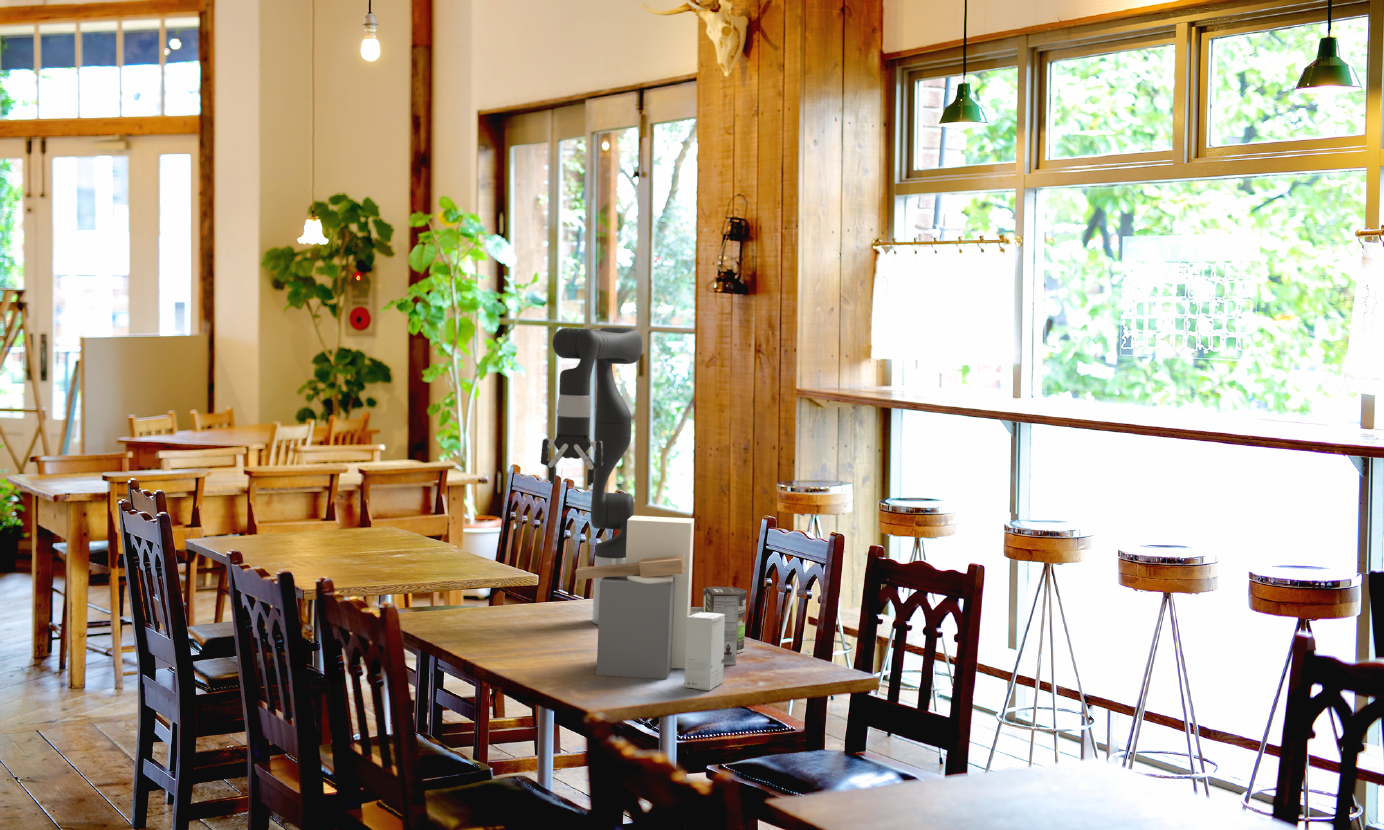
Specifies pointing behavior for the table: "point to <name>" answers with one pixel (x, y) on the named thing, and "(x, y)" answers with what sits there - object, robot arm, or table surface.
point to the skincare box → (704, 650)
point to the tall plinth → (663, 541)
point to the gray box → (636, 626)
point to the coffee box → (728, 604)
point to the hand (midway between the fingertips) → (571, 484)
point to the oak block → (636, 568)
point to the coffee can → (741, 617)
